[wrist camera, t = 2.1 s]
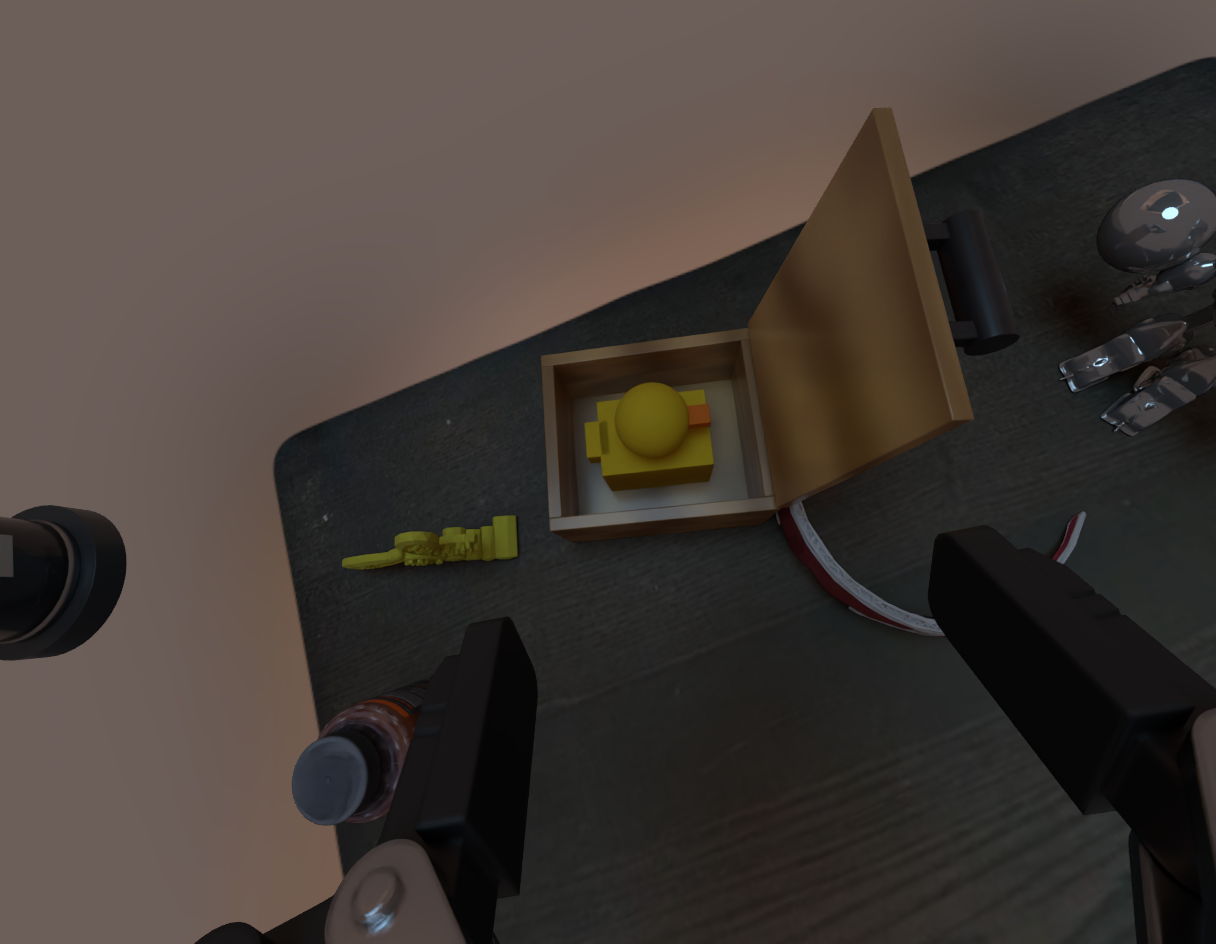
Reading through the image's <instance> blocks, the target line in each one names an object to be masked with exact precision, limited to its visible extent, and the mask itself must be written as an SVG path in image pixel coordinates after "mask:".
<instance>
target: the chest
mask: <svg viewBox="0 0 1216 944" xmlns="http://www.w3.org/2000/svg"><path fill="white" fill-rule="evenodd" d="M541 366H542V386H543V405H544V425H545V445H546V465H547V485H548V505H549V518H550V519H549V525H550V531H551V532H553V533H555V534H557V535H559V536H561V537H563V538H565V539H567V540H569V541H571V542H583V541H593V540H604V539H615V538H626V537H636V536H647V535H658V534H668V533H679V532H690V531H700V530H711V529H722V528H732V527H743V526H754V525H762V524H763V523H765V522H766V521H767V520H768V519H769V518H770V517H772V516H773V515H774V514H775V513H776V512H778V511H779V510H780V509H781V508H777V505H776V499H775V492H774V486H773V480H772V474H771V467H770V461H769V455H768V449H767V442H766V436H765V430H764V424H763V417H762V411H761V405H760V399H759V393H758V386H757V380H756V374H755V368H754V361H753V355H752V349H751V343H750V336H749V330H748V328H745V329H737V330H730V331H722V332H715V333H708V334H700V335H693V336H685V337H678V338H671V339H663V340H656V341H648V342H641V343H633V344H626V345H619V346H611V347H604V348H596V349H589V350H581V351H574V352H567V353H559V354H552V355H544V356H541ZM650 382H655V383H662V384H665V385H667V386H669V387H671V388H673V389H674V390H675V391H677V392H685V391H693V390H701V389H704V390H705V398H706V404H709V410H710V417H711V425H710V426H709V428H710V435H711V443H712V450H713V458H714V466H713V470H712V473H711V477H710V481H708V482H699V483H689V484H680V485H670V486H660V487H651V488H641V489H631V490H622V491H612V490H611V489H610V487H609V486H608V484H607V483H606V481H605V479H604V478H603V476H602V468H601V463H593V464H591V463H590V461H589V460H588V458H587V455H586V440H585V426H584V424H585V423H587V422H596V421H598V416H597V402H603V401H612V400H620V399H621V398H622V397H623V396H624V395H625V394H626V393H627V392H628V391H629V390H630V389H632V388H633V387H635V386H637V385H640V384H643V383H650Z"/></svg>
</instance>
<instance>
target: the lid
mask: <svg viewBox="0 0 1216 944" xmlns="http://www.w3.org/2000/svg"><path fill="white" fill-rule="evenodd" d="M935 250H937V253H938V257H939V261H940V264H941V268H942V272H943V275H944V279H945V283H946V287H947V290H948V294H949V298H950V301H951V305H952V309H953V312H954V316H955V320H956V321H954V322H948V318H947V314H946V311H945V307H944V303H943V299H942V296H941V292H940V288H939V284H938V281H937V277H936V273H935V269H934V266H933V262H932V258H931V254H930V251H935ZM748 330H749V336H750V343H751V349H752V355H753V361H754V368H755V374H756V380H757V386H758V393H759V399H760V405H761V411H762V417H763V424H764V430H765V436H766V442H767V449H768V455H769V461H770V467H771V474H772V480H773V486H774V492H775V499H776V505H777V508H786V507H790V506H792V505H794V504H796V503H798V502H800V501H802V500H804V499H807V498H809V497H811V496H813V495H815V494H817V493H819V492H821V491H823V490H826V489H828V488H830V487H832V486H834V485H836V484H838V483H840V482H842V481H845V480H847V479H849V478H851V477H853V476H855V475H857V474H859V473H861V472H864V471H866V470H868V469H870V468H872V467H874V466H876V465H878V464H880V463H883V462H885V461H887V460H889V459H891V458H893V457H895V456H897V455H899V454H902V453H904V452H906V451H908V450H910V449H912V448H914V447H916V446H918V445H921V444H923V443H925V442H927V441H929V440H931V439H933V438H935V437H937V436H940V435H942V434H944V433H946V432H948V431H950V430H952V429H954V428H956V427H958V426H961V425H963V424H965V423H967V422H969V421H971V420H973V419H974V416H973V412H972V408H971V404H970V401H969V397H968V393H967V389H966V386H965V382H964V378H963V374H962V371H961V367H960V363H959V359H958V356H957V352H956V348H955V347H963V349H964V353H965V354H967V355H971V356H976V355H984V354H988V353H992V352H996V351H999V350H1001V349H1004V348H1006V347H1008V346H1010V345H1012V344H1013V343H1015V342H1016V341H1017V340H1018V339H1019V337H1020V335H1019V331H1018V328H1017V325H1016V322H1015V318H1014V315H1013V312H1012V308H1011V305H1010V302H1009V298H1008V295H1007V292H1006V288H1005V285H1004V282H1003V279H1002V275H1001V272H1000V269H999V265H998V262H997V259H996V255H995V252H994V249H993V245H992V242H991V239H990V235H989V232H988V229H987V226H986V222H985V219H984V216H983V213H982V212H981V211H979V210H973V209H972V210H965V211H962V212H959V213H956V214H954V215H952V216H950V217H948V218H946V219H945V220H943V221H942V222H941V223H927V224H922V221H921V217H920V213H919V209H918V206H917V202H916V198H915V194H914V191H913V187H912V183H911V179H910V176H909V172H908V169H907V165H906V161H905V157H904V154H903V150H902V146H901V142H900V138H899V134H898V131H897V127H896V123H895V119H894V116H893V112H892V109H891V108H874V109H873V110H872V111H871V113H870V115H869V116H868V118H867V120H866V122H865V123H864V125H863V127H862V128H861V130H860V132H859V133H858V135H857V137H856V139H855V140H854V142H853V144H852V146H851V147H850V149H849V151H848V152H847V154H846V156H845V158H844V159H843V161H842V163H841V164H840V166H839V168H838V170H837V171H836V173H835V175H834V176H833V178H832V180H831V182H830V183H829V185H828V187H827V189H826V190H825V192H824V194H823V195H822V197H821V199H820V201H819V202H818V204H817V206H816V207H815V209H814V211H813V213H812V214H811V216H810V218H809V220H808V221H807V223H806V225H805V226H804V228H803V230H802V232H801V233H800V235H799V237H798V238H797V240H796V242H795V244H794V245H793V247H792V249H791V250H790V252H789V254H788V256H787V257H786V259H785V261H784V263H783V264H782V266H781V268H780V269H779V271H778V273H777V275H776V276H775V278H774V280H773V281H772V283H771V285H770V287H769V288H768V290H767V292H766V294H765V295H764V297H763V299H762V300H761V302H760V304H759V306H758V307H757V309H756V311H755V312H754V314H753V316H752V318H751V319H750V321H749V323H748Z"/></svg>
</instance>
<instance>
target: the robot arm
mask: <svg viewBox="0 0 1216 944" xmlns="http://www.w3.org/2000/svg"><path fill="white" fill-rule="evenodd" d="M79 575H80V553H79V549H78V546H77V543H76V541H75V539H74V537H73V536H72V534H71V533H70V532H69V531H68V530H67V529H66V528H65V527H63V526H62V525H60V524H58V523H55V522H51V521H44V520H23V519H14V518H6V517H0V644H6V643H18V642H23V641H26V640H29V639H32V638H34V637H36V636H38V635H39V634H41V633H42V632H44V631H45V630H47V629H48V628H49V627H50V626H51V625H52V624H53V623H54V622H55V621H56V620H57V619H58V618H59V617H60V616H61V615H62V613H63V612H64V611H65V609H66V608H67V606H68V604H69V603H70V601H71V599H72V597H73V595H74V592H75V590H76V587H77V583H78V579H79ZM928 601H929V606H930V609H931V612H932V615H933V617H934V619H935V621H936V623H937V625H938V627H939V628H940V629H941V631H942V632H943V633H944V635H945V636H946V637H947V639H948V640H949V641H950V642H951V644H952V645H953V646H954V648H955V649H956V650H957V652H958V653H959V654H960V655H961V657H962V658H963V659H964V661H965V662H966V663H967V665H968V666H969V667H970V668H971V670H972V671H973V672H974V674H975V675H976V676H977V678H978V679H979V680H980V681H981V683H982V684H983V685H984V687H985V688H986V689H987V691H988V692H989V693H990V694H991V696H992V697H993V698H994V700H995V701H996V702H997V703H998V705H999V706H1000V707H1001V709H1002V710H1003V711H1004V713H1005V714H1006V715H1007V716H1008V718H1009V719H1010V720H1011V722H1012V723H1013V724H1014V726H1015V727H1016V728H1017V729H1018V731H1019V732H1020V733H1021V735H1022V736H1023V737H1024V739H1025V740H1026V741H1027V742H1028V744H1029V745H1030V746H1031V748H1032V749H1033V750H1034V752H1035V753H1036V754H1037V755H1038V757H1039V758H1040V759H1041V761H1042V762H1043V763H1044V765H1045V766H1046V767H1047V768H1048V770H1049V771H1050V772H1051V774H1052V775H1053V776H1054V778H1055V779H1056V780H1057V781H1058V783H1059V784H1060V785H1061V787H1062V788H1063V789H1064V791H1065V792H1066V793H1067V794H1068V796H1069V797H1070V798H1071V800H1072V801H1073V802H1074V804H1075V805H1076V806H1077V807H1078V809H1079V810H1080V811H1081V813H1082V814H1083V815H1089V814H1096V813H1103V812H1110V811H1117V812H1118V813H1119V814H1120V816H1121V817H1122V818H1123V819H1124V820H1125V822H1126V823H1127V824H1128V825H1129V826H1130V828H1131V831H1130V834H1129V842H1128V845H1129V857H1130V869H1131V881H1132V893H1133V905H1134V917H1135V929H1136V941H1137V944H1216V689H1215V688H1213V687H1212V686H1211V685H1210V684H1209V683H1207V682H1206V681H1205V680H1204V679H1203V678H1201V677H1200V676H1199V675H1198V674H1197V673H1195V672H1194V671H1193V670H1192V669H1190V668H1189V667H1188V666H1187V665H1186V664H1184V663H1183V662H1182V661H1181V660H1180V659H1178V658H1177V657H1176V656H1175V655H1174V654H1172V653H1171V652H1170V651H1169V650H1167V649H1166V648H1165V647H1164V646H1163V645H1161V644H1160V643H1159V642H1158V641H1157V640H1155V639H1154V638H1153V637H1152V636H1151V635H1149V634H1148V633H1147V632H1146V631H1144V630H1143V629H1142V628H1141V627H1140V626H1138V625H1137V624H1136V623H1135V622H1134V621H1132V620H1131V619H1130V618H1129V617H1127V616H1126V615H1121V614H1120V613H1119V609H1118V608H1117V607H1115V606H1114V605H1113V604H1112V603H1111V602H1109V601H1108V600H1107V599H1106V598H1104V597H1103V596H1102V595H1101V594H1096V593H1095V591H1094V588H1092V587H1091V586H1090V585H1089V584H1088V583H1086V582H1085V581H1084V580H1083V579H1081V578H1080V577H1079V576H1078V575H1077V574H1075V573H1074V572H1073V571H1072V570H1071V569H1069V568H1068V567H1067V566H1066V565H1064V564H1062V563H1060V562H1057V561H1055V560H1053V559H1051V558H1049V557H1047V556H1045V555H1043V554H1041V553H1039V552H1037V551H1034V550H1032V549H1030V548H1025V549H1020V550H1018V549H1017V548H1015V547H1014V546H1013V545H1012V544H1011V543H1010V542H1009V541H1007V540H1006V539H1005V538H1004V537H1003V536H1002V535H1001V534H1000V533H998V532H997V531H996V530H995V529H993V528H991V527H989V526H986V525H982V526H977V527H972V528H967V529H962V530H957V531H952V532H946V533H941V534H939V535H938V536H937V537H936V539H935V542H934V549H933V557H932V565H931V573H930V581H929V589H928ZM537 699H538V690H537V680H536V675H535V671H534V667H533V665H532V663H531V660H530V658H529V656H528V654H527V652H526V649H525V647H524V645H523V643H522V641H521V639H520V636H519V634H518V632H517V630H516V628H515V625H514V623H513V621H512V620H511V619H510V618H509V617H502V618H497V619H492V620H487V621H482V622H477V623H472V624H470V625H469V626H468V627H467V629H466V632H465V636H464V640H463V644H462V647H461V651H460V654H458V655H453V656H448V657H446V658H445V659H444V661H443V662H442V664H441V665H440V666H439V668H438V669H437V671H436V672H435V674H434V675H433V677H432V678H431V679H430V681H429V683H428V686H427V689H426V692H425V695H424V699H423V702H422V705H421V708H420V711H421V714H420V715H418V718H417V721H416V725H415V728H414V731H413V734H414V737H413V739H411V741H410V744H409V747H408V751H407V754H406V757H405V760H404V763H403V767H402V770H401V773H400V776H399V780H398V783H397V786H396V789H395V793H394V796H393V799H392V802H391V806H390V809H389V812H388V815H387V818H386V822H385V825H384V828H383V831H382V834H381V836H380V839H379V841H378V843H377V845H376V847H375V848H373V849H372V850H371V851H369V852H368V853H367V854H365V855H364V856H363V857H362V858H361V859H360V860H359V861H358V862H357V863H356V864H355V865H354V866H353V867H352V868H351V870H350V871H349V872H348V873H347V875H346V876H345V878H344V879H343V880H342V882H341V884H340V886H339V887H338V889H337V891H336V893H335V894H334V895H333V896H332V897H330V898H328V899H327V900H325V901H324V902H322V903H320V904H318V905H316V906H314V907H313V908H311V909H309V910H307V911H305V912H303V913H302V914H299V915H298V916H296V917H294V918H292V919H290V920H288V921H286V922H285V923H283V924H281V925H279V926H277V927H275V928H273V929H272V930H270V931H268V932H266V933H264V934H262V933H261V932H259V931H258V930H256V929H255V928H254V927H252V926H251V925H249V924H246V923H242V922H234V923H229V924H226V925H223V926H221V927H218V928H216V929H214V930H212V931H211V932H209V933H208V934H206V935H205V936H203V937H202V938H201V939H199V940H198V941H197V942H196V943H195V944H500V943H499V941H498V939H497V937H496V935H495V933H494V932H493V926H494V918H495V910H496V902H497V898H504V897H511V896H518V895H519V893H520V882H521V872H522V861H523V850H524V839H525V829H526V818H527V807H528V796H529V786H530V775H531V764H532V753H533V743H534V732H535V721H536V710H537Z"/></svg>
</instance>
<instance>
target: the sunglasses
mask: <svg viewBox="0 0 1216 944" xmlns="http://www.w3.org/2000/svg"><path fill="white" fill-rule="evenodd" d="M775 514H776V518H777V521H778V525H779V524H781V525H782V528H783V531H784V534H785V537H786V539H787V541H788V543H789V546H790V548H791V549H792V550H793V552H794V553H795V554H796V556H797V557H798V558H799V560H800V561H802V562H803V563H804V564H805V565H807V566H808V567H809V568H810V569H811V570H812V571H813V573H814V574H815V575H816V578H817V580H818V583H819V584H820V585H821V586H822V587H823V588H824V589H825V590H826V591H827V592H828V593H829V594H831V595H832V596H833V597H835V598H836V599H838V600H840V601H842V602H843V603H845V604H847V605H849V609H850V610H852V611H854V612H856V613H857V614H859V615H862V616H864V617H867V618H869V619H872V620H875V621H878V622H880V623H883V624H886V625H889V626H891V627H895V628H899V629H902V630H906V631H909V632H913V633H917V634H921V635H927V636H938V637H944V636H945V635H944V633H943V632H942V631H941V629H940V628H939V627H938V625H937V623H936V621H935V619H934V617H929V616H923V615H918V614H912V613H908V612H906V611H904V610H901V609H899V608H897V607H895V606H893V605H891V604H889V603H887V602H885V601H884V600H882V599H881V598H879V597H878V596H876V595H875V594H873V593H872V592H870V591H869V590H867V589H866V588H864V587H863V586H861V585H860V584H858V583H857V582H855V581H854V580H853V579H852V578H851V577H850V576H849V575H848V574H847V573H846V572H845V571H844V569H843V568H842V567H841V566H840V565H839V564H838V563H837V562H836V561H835V560H834V559H833V557H832V556H831V554H830V553H829V551H828V550H827V548H826V547H825V545H824V544H823V542H822V541H821V539H820V538H819V536H818V535H817V533H816V532H815V530H814V529H813V527H812V526H811V524H810V523H809V521H808V519H807V516H806V513H805V510H804V507H803V504H802V501H800V502H798V503H796V504H794V505H792V506H790V507H786V508H781V509H780V510H779V511H778V512H776V513H775ZM1085 517H1086V513H1085V512H1083V511H1082V512H1081V513H1079V514H1077V515H1075V516H1074V517H1073V518H1072V519H1071V520H1070V522H1069V523H1068V527H1067V531H1066V534H1065V538H1064V541H1063V543H1062V545H1061V546H1060V548H1059V550H1058V551H1057V553H1056V554H1055V556H1054V557H1053V560H1055V561H1057V562H1060V563H1062V564H1064V562H1065V561H1066V559H1067V558H1068V556H1069V555H1070V553H1071V552H1072V550H1073V549H1074V547H1075V545H1076V543H1077V540H1078V537H1079V534H1080V531H1081V528H1082V525H1083V523H1084V520H1085ZM805 519H806V520H805ZM780 522H781V523H780Z"/></svg>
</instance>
